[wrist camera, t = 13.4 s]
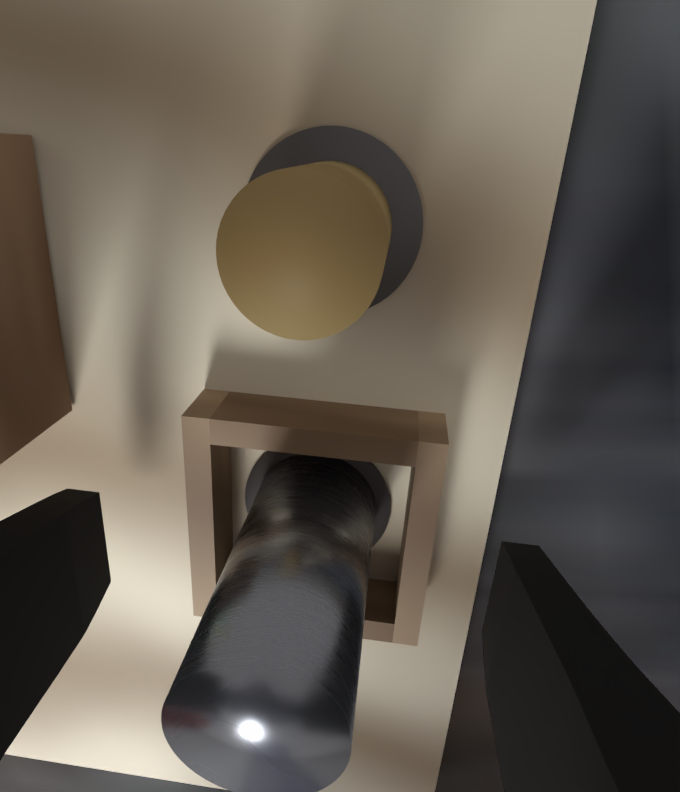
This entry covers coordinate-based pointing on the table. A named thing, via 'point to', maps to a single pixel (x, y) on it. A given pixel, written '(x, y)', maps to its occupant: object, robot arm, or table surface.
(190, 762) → the peg
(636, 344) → the table surface
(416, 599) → the board
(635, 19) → the table surface
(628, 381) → the table surface
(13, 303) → the block
